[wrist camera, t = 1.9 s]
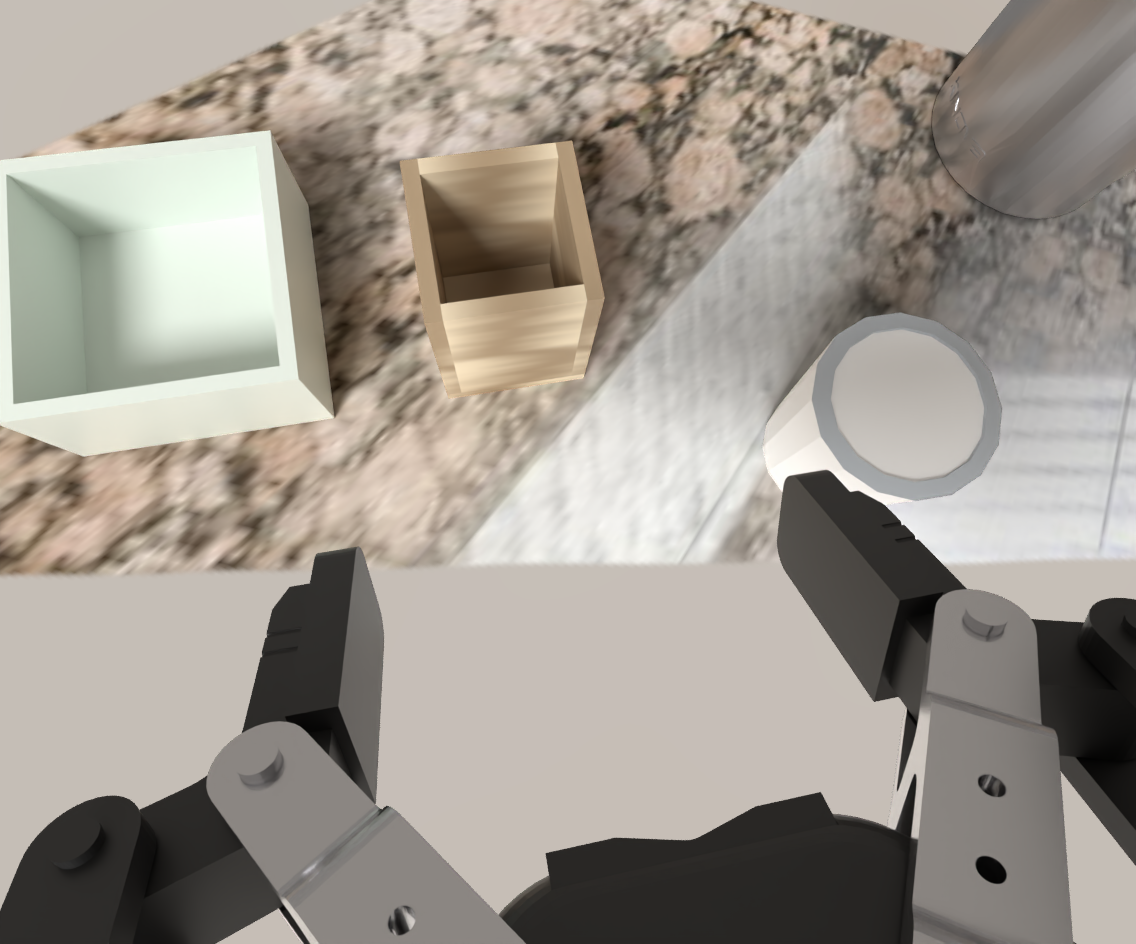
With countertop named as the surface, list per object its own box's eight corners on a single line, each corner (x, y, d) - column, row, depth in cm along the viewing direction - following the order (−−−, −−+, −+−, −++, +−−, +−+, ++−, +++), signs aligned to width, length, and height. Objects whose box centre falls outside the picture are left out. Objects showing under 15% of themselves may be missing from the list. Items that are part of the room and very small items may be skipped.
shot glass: (779, 352, 32) (850, 280, 25) (918, 414, 32) (1027, 358, 25) (725, 487, 31) (785, 449, 24) (871, 552, 30) (973, 533, 24)
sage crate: (308, 205, 32) (270, 130, 27) (334, 418, 30) (298, 378, 25) (72, 234, 31) (-12, 161, 26) (83, 456, 29) (-5, 423, 24)
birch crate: (559, 256, 32) (572, 140, 25) (583, 378, 31) (604, 298, 23) (429, 273, 32) (399, 160, 24) (448, 399, 31) (424, 323, 23)
